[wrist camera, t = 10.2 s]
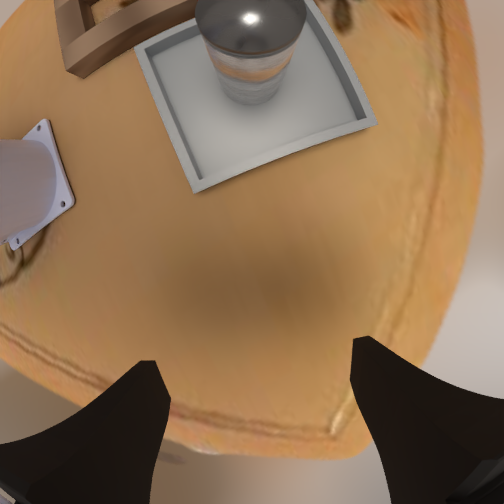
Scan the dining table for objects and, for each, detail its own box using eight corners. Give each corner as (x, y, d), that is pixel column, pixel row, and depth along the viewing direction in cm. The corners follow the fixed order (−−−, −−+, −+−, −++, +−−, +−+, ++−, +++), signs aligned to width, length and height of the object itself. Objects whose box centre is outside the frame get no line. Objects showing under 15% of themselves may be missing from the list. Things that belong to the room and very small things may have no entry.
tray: (199, 191, 18) (194, 193, 16) (143, 57, 15) (133, 47, 13) (366, 128, 16) (378, 124, 14) (299, 2, 14) (304, -12, 12)
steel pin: (281, 106, 16) (308, 54, 7) (217, 105, 16) (189, 52, 7) (282, 52, 15) (304, -22, 6) (220, 51, 14) (200, -24, 6)
